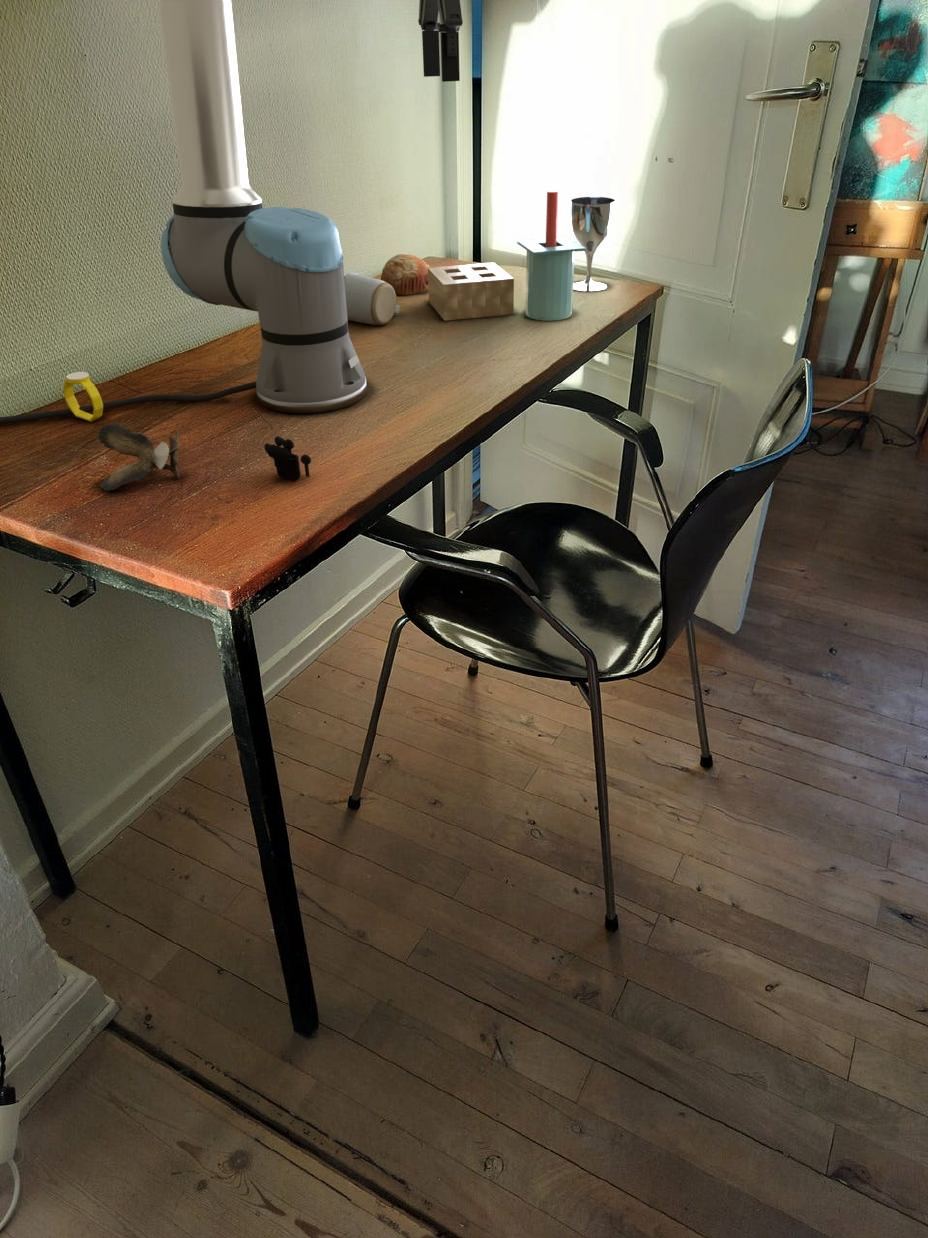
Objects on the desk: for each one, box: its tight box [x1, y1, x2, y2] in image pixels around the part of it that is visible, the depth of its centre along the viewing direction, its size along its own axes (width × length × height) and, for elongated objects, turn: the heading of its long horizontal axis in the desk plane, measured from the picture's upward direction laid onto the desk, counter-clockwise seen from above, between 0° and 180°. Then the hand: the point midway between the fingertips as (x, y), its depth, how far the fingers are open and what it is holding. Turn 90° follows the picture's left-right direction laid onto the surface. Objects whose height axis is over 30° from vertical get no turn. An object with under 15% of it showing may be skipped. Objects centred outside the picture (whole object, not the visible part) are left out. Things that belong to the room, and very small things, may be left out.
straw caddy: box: [427, 262, 515, 321], centre depth 158 cm, size 12×12×6 cm
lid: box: [516, 236, 586, 255], centre depth 150 cm, size 9×9×1 cm
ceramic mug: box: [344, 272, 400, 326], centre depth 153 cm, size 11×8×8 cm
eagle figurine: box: [96, 422, 180, 492], centre depth 102 cm, size 8×7×9 cm
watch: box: [62, 371, 104, 423], centre depth 118 cm, size 6×3×6 cm, turn 58°
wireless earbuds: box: [264, 435, 312, 482], centre depth 102 cm, size 7×2×5 cm, turn 55°
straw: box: [545, 189, 559, 247], centre depth 150 cm, size 2×2×19 cm
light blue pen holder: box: [525, 244, 576, 322], centre depth 153 cm, size 8×8×11 cm
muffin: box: [380, 253, 431, 296], centre depth 171 cm, size 10×10×8 cm
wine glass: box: [569, 196, 616, 292], centre depth 166 cm, size 8×8×15 cm
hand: (441, 78), depth 147 cm, fingers open, 13 cm apart
